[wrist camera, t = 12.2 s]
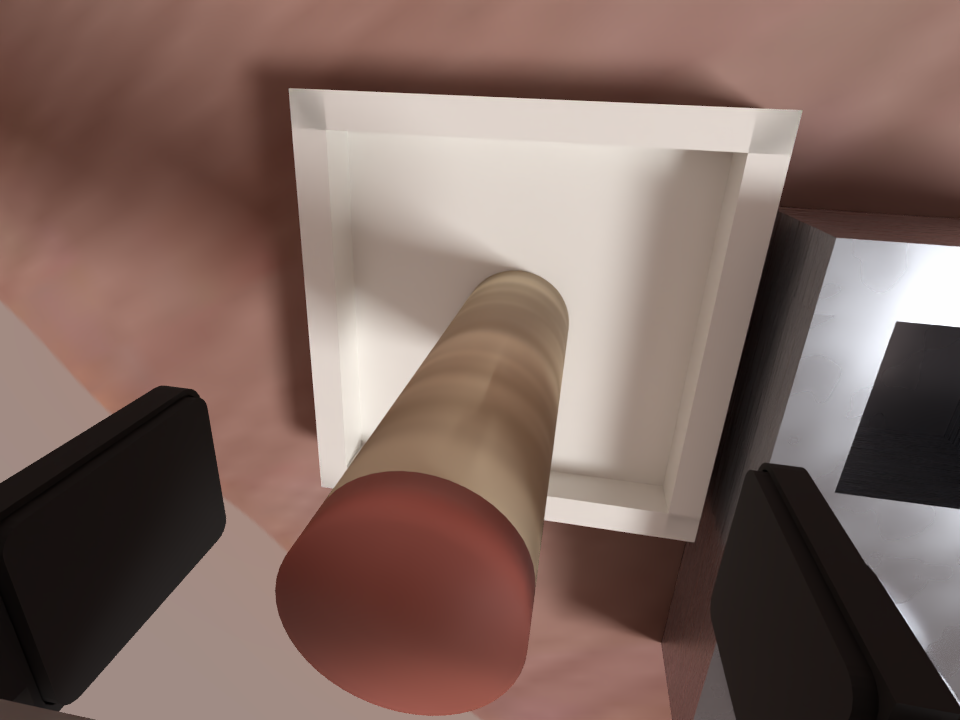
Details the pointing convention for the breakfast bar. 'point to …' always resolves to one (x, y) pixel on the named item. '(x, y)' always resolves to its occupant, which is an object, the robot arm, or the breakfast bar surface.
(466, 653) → the lock pin
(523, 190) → the tray
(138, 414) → the robot arm
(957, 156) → the breakfast bar surface
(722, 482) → the block
